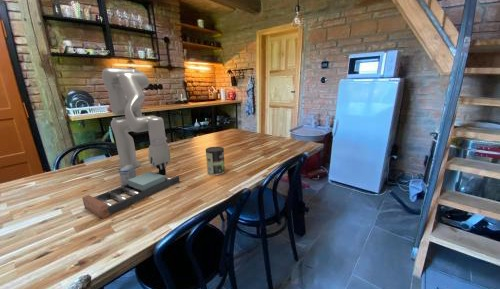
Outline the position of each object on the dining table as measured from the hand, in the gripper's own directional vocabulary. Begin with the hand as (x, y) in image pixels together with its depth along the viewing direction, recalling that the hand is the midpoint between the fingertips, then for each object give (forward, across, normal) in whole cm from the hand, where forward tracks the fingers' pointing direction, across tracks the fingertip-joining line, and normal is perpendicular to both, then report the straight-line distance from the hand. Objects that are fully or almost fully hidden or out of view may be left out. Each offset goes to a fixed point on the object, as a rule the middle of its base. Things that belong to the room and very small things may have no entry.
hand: (162, 175), depth 116 cm
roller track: (+4, +15, 0) cm, 15 cm away
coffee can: (+4, -24, +16) cm, 29 cm away
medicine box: (+4, +10, -15) cm, 18 cm away
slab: (+1, +9, 0) cm, 9 cm away
